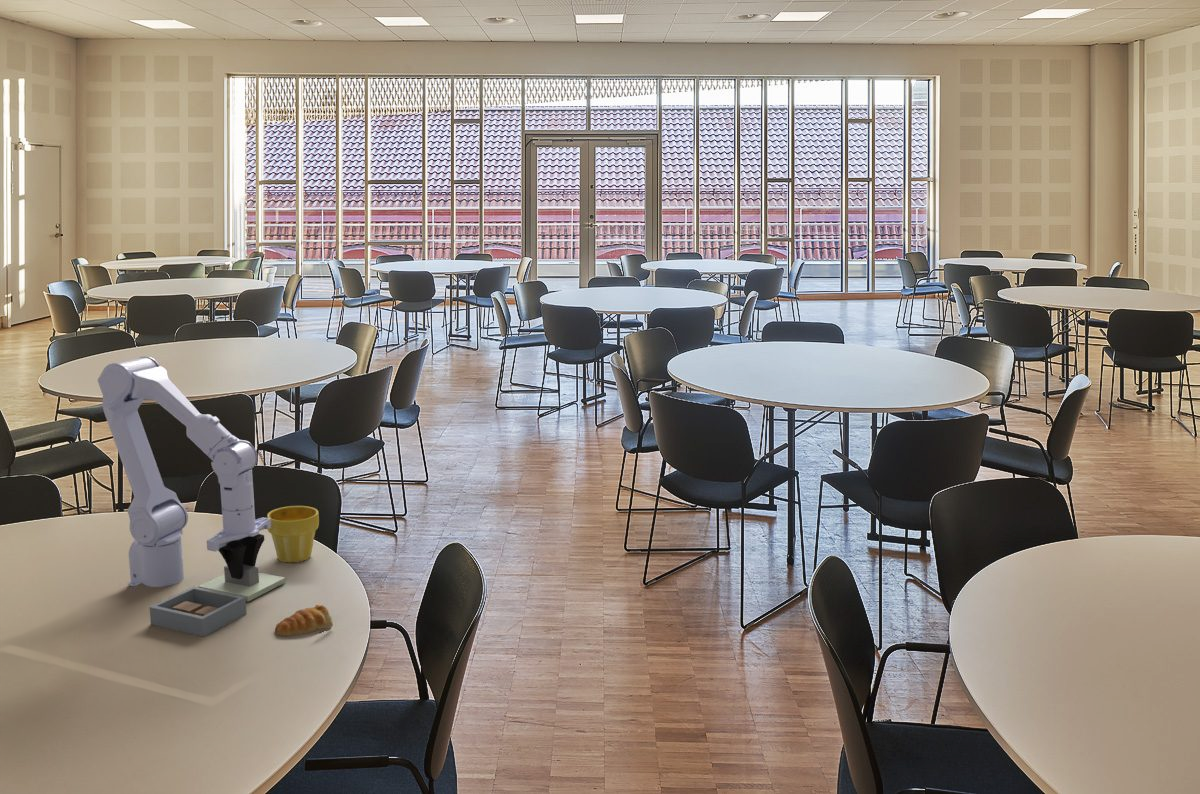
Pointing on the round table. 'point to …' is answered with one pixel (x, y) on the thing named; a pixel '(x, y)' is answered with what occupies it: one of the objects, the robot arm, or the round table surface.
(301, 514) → the plant pot
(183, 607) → the brick
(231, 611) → the box
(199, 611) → the brick
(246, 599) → the lid
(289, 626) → the pastry
